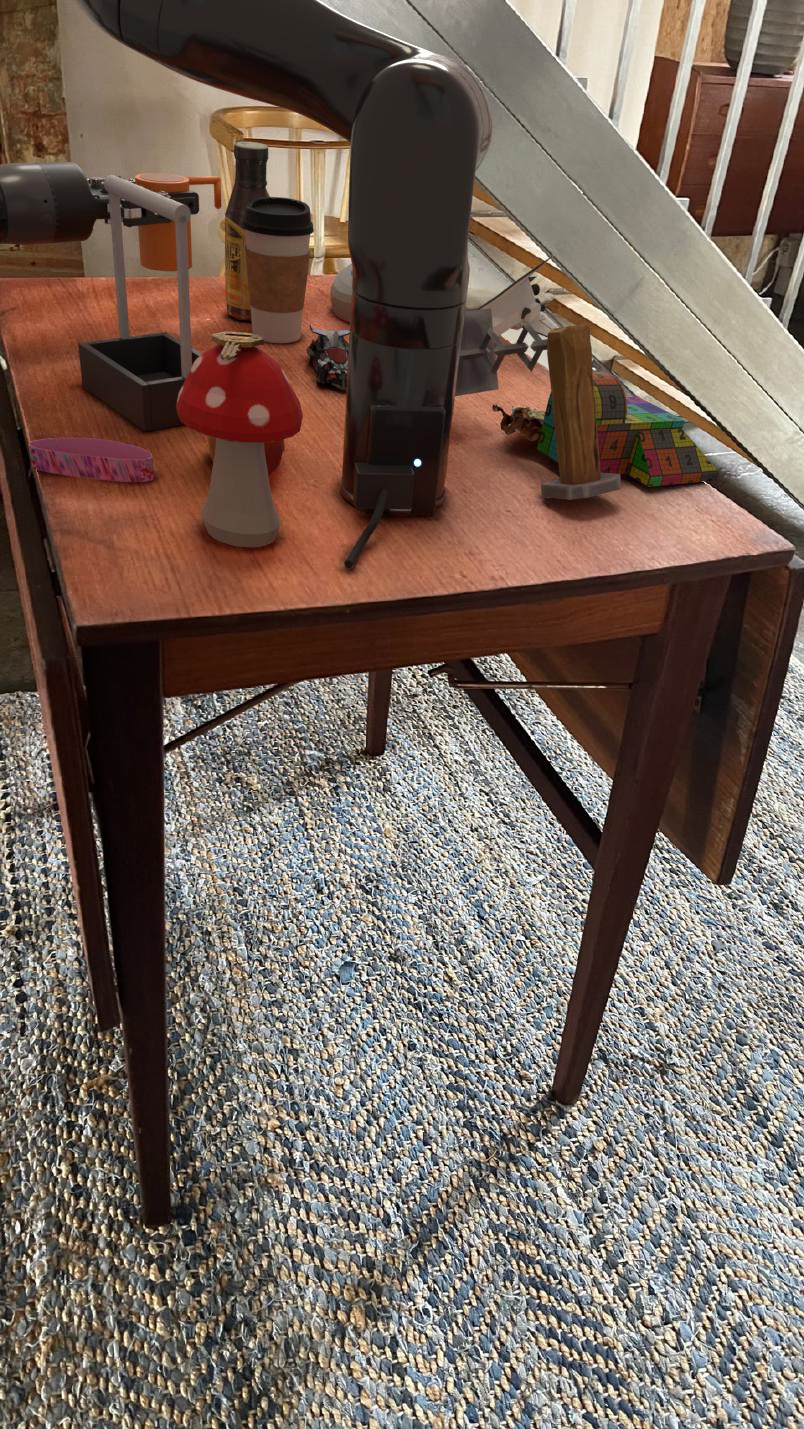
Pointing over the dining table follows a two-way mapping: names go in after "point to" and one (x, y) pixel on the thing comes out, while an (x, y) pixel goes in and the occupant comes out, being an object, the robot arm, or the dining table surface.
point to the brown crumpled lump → (522, 421)
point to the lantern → (568, 392)
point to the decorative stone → (342, 293)
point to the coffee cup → (277, 265)
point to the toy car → (330, 357)
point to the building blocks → (636, 439)
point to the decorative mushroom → (240, 438)
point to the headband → (92, 459)
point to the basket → (148, 365)
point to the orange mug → (161, 237)
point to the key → (235, 342)
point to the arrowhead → (482, 296)
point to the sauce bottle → (245, 189)
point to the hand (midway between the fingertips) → (182, 197)
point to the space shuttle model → (519, 307)
